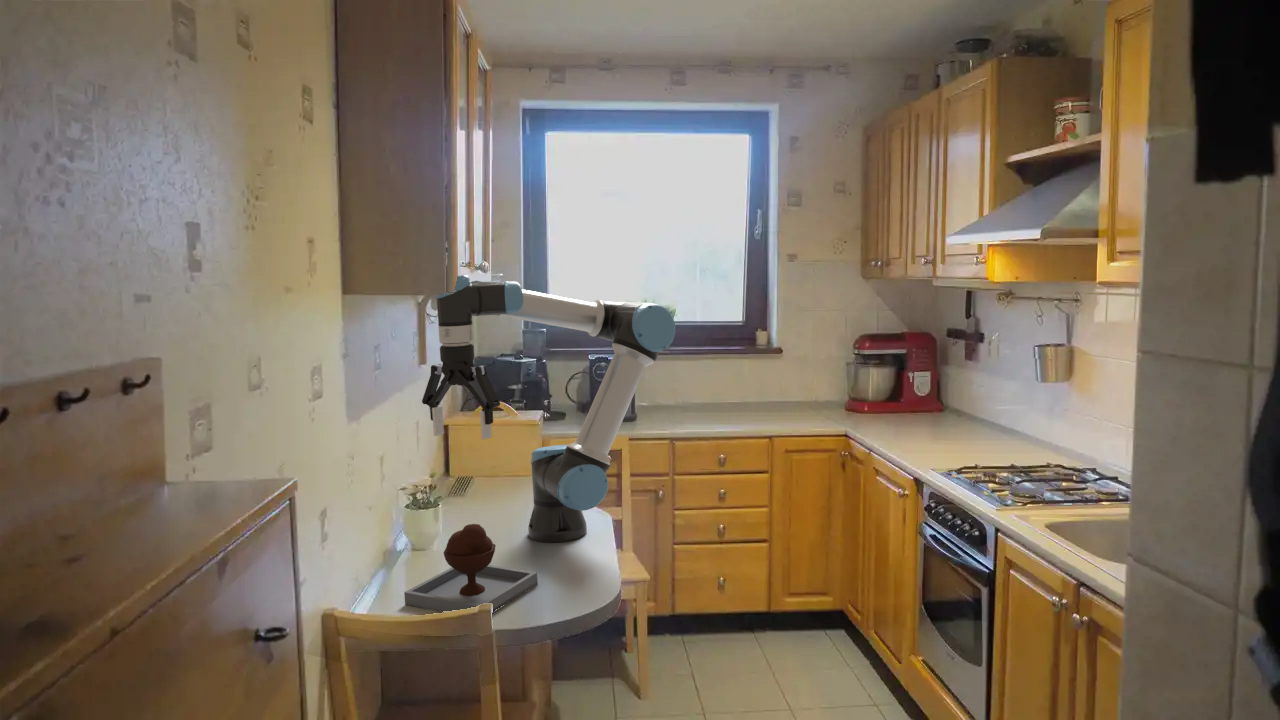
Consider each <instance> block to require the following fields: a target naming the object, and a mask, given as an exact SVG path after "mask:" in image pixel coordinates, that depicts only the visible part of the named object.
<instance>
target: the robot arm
mask: <svg viewBox="0 0 1280 720" xmlns="http://www.w3.org/2000/svg"><path fill="white" fill-rule="evenodd" d="M457 275H458V276H457V281H456V286H455V289H454V290H456V291H455V292H451V293H453V294H445V295H436V294H435V299H436V309H437V310H436V311H437V321H438V322H437V323H438V336H439V337H438V338H439V339H438V341H439V343H440V347H439V355H440V356H439V357H440V362H441V363H442V364H441V363H438V364H432V365H431V366H430V376H429V380H428V381H427V385H426V387H425V391H424V394H423V397H422V399H421V403H422V404H423V405H427V406H428V407H429V412H430V420H431V421H432V425H433V426H432V428H433V436H434V437H436V436H437V437H438V436H440V435H444V434H445V427H444V413H443V405H442V404H441V402H442V400H443V399H444V398H445V396H446V394H447V393H448V391H449V389H450V388H451V386H456V385H457V386H461V387H462V386H464V387H465V388H466V389H468V390H469V391H470V393H471V395H472V396H473V398H474V399H475V400H476V402H478V404H479V405H480V407H481V410H480V411H479V415H480V431H481V440H484V441H485V440H488V439H490V438H492V437H493V436H492V424H493V423H494V409H496V408H498V407H499V406H500V405H501V402H500V400H499V398H498V395H497V393H496V391H495V388H494V387H493V385H492V382H491V380H490V379H489V376H488V373H487V372H488V371H487V367H486V365H485V364H483V365H477V366H475V365H474V360H475V346H474V344H473V343H472V342H473V341H474V331H473V329H474V328H473V317H479V316H497V317H503V318H508V319H509V318H510V319H515V320H520V321H526V322H530V323H531V322H533V323H538V324H543V325H548V326H555V327H560V328H565V329H566V328H567V329H572V330H577V331H582V332H587V334H588V336H590V337H594V338H600V339H603V340H606V341H610V342H612V343H611V346H612V348H613V351H614V352H613V353H614V354H613V356H612V358H611V360H610V362H609V365H608V367H607V370H606V372H605V374H604V376H603V379H602V381H601V383H600V385H599V388H598V390H597V392H596V395H595V396H594V399H593V401H592V404H591V406H590V407H589V411H588V413H587V415H586V417H585V420H584V422H583V424H582V426H581V428H580V431H579V433H578V436H577V438H576V439H575V441H573V442H571V443H569V444H558V445H556V444H555V445H548V446H542V447H538V448H536V449H534V450H532V452H531V459H530V464H531V477H532V494H533V495H532V496H533V497H532V499H533V508H532V511H531V515H530V518H529V522H528V527H527V528H528V529H527V530H528V533H527V534H528V537H529V539H532V540H534V541H538V542H541V543H543V542H544V543H561V542H568V541H573V540H576V539H579V538H582V537H584V536H585V535H586V534H587V531H588V529H587V521H586V519H585V517H584V514H583V513H584V512H583V511H589V510H592V509H594V508H596V507H597V506H598V505H599V504H600V503H601V502H603V500H604V498H606V496H607V493H608V490H609V481H608V476H607V473H608V471H609V468H610V466H611V462H610V460H609V453H610V450H611V448H612V445H613V443H614V441H615V439H616V436H617V435H618V432H619V430H620V427H621V425H622V423H623V421H624V418H625V416H626V413H627V412H628V409H629V406H630V404H631V403H632V401H633V397H634V395H635V393H636V391H637V388H638V386H639V383H640V381H641V379H642V378H643V375H644V372H645V370H646V368H647V367H648V366H651V365H654V364H655V362H656V360H657V358H658V356H659V353H660V352H663V351H665V350H666V349H667V348H669V347H670V346H671V344H672V343H673V341H674V339H675V336H676V323H675V321H674V317H673V315H672V314H671V312H670V311H669V310H668V309H667V308H666V307H664V306H663V305H660V304H657V303H654V302H649V301H648V302H647V301H646V302H638V301H607V300H600V299H596V300H594V301H593V302H590V301H586V300H585V301H584V300H579V299H574V298H569V297H563V296H559V295H554V294H549V293H543V292H539V291H533V290H528V289H527V290H526V289H522V286H521V284H520V283H519V282H517V281H514V280H512V281H508V280H504V281H481V280H472V281H471V280H470V279H471V278H470V277H469V275H467V274H457ZM441 344H442V345H441ZM442 374H443V375H444V376H443V377H442ZM441 378H442V379H441Z"/></svg>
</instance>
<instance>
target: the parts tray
mask: <svg viewBox="0 0 1280 720" xmlns="http://www.w3.org/2000/svg"><path fill="white" fill-rule="evenodd" d="M467 583H468V577H467V575H466V574H463V573H461V572H459V571H457V570H455V569H454V568H452V567H450V568H449V569H446V570H445V571H442V572H440V573H438V574H436V575H434V576H433V577H431V578H429V579H427V580H424V581H423V582H422V583H419V584H417V585H415V586H413V587H412V588H409V589H407V590H406V591H404V603H405V604H404V605H405V606H409V607H413V608H417V609H418V608H419V609H424V610H428V611H433V612H440V613H444V612H443V611H452V610H460V609H467V608H471V607H476V606H478V605H480V604H483V603H492V604H493V612H494V611H495V610H496V609H498V608H500V607H501V606H503V605H505V604H506V605H508V604H509V603H508V602H510V601H511V602H513V601H514V600H516V599H517V597H518V598H520V595H521V596H523V595H524V594H526V593H527V592H529V591H530V590H532V589H534V588H535V587H536V586H538V572H535V571H528V570H524V569H518V568H511V567H504V566H500V565H499V566H498V565H492V564H489V565H488V566H487V567H486V568H484V569H483V570H482V571H479V572H477V573H476V583H479V584H481V585H483V586H484V587H485V591H484V592H483V593H481V594H479V595H473V596H465V595H462V594H460V589H461V587H463V586H464V585H466V584H467ZM531 588H532V589H531ZM528 590H529V591H528ZM526 591H527V592H526ZM523 593H524V594H523ZM515 598H516V599H515ZM513 599H514V600H513ZM512 600H513V601H512ZM511 602H510V603H511ZM507 603H508V604H507ZM506 605H505V606H506ZM503 607H504V606H503ZM500 609H501V608H500ZM495 612H496V611H495ZM495 612H494V613H495Z"/></svg>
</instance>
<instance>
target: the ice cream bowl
mask: <svg viewBox="0 0 1280 720" xmlns="http://www.w3.org/2000/svg"><path fill="white" fill-rule="evenodd" d="M496 546H497V545H496V544H495V543H493V540H492V539H491V538H490V537H489V536H487V532H486V530H485V528H484V527H483V526H481V525H480V524H479V523H469V524H467V525H464V527H463V528H462V530H461V529H459V530H457V531H456V532H453V534H451V536H450V538H448V541H447V544H446V547H445V549H444V551H443V556H444V560H445V561H446V563H447V564H448V565H449V566H450V568H454V569H455V570H457V571H459V572H461V573H463V574H466V575H467V577H468V583H467V584H466V585H464V586H463V587H461V589H460V594H462V595H465V596H473V595H479V594H481V593H483V592H484V591H485V587H484V586H483V585H481V584H479V583H476V573H477V572H479V571H482V570H483V569H484V568H486V567H487V566H488V565H491V562H492V561H493V558H494V555H495V552H496Z"/></svg>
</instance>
